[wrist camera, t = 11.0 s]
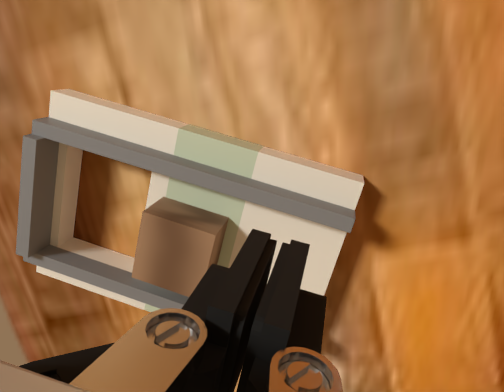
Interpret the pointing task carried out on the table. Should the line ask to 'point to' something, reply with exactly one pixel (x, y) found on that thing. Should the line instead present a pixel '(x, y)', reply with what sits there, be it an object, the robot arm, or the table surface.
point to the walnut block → (177, 245)
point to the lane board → (172, 194)
